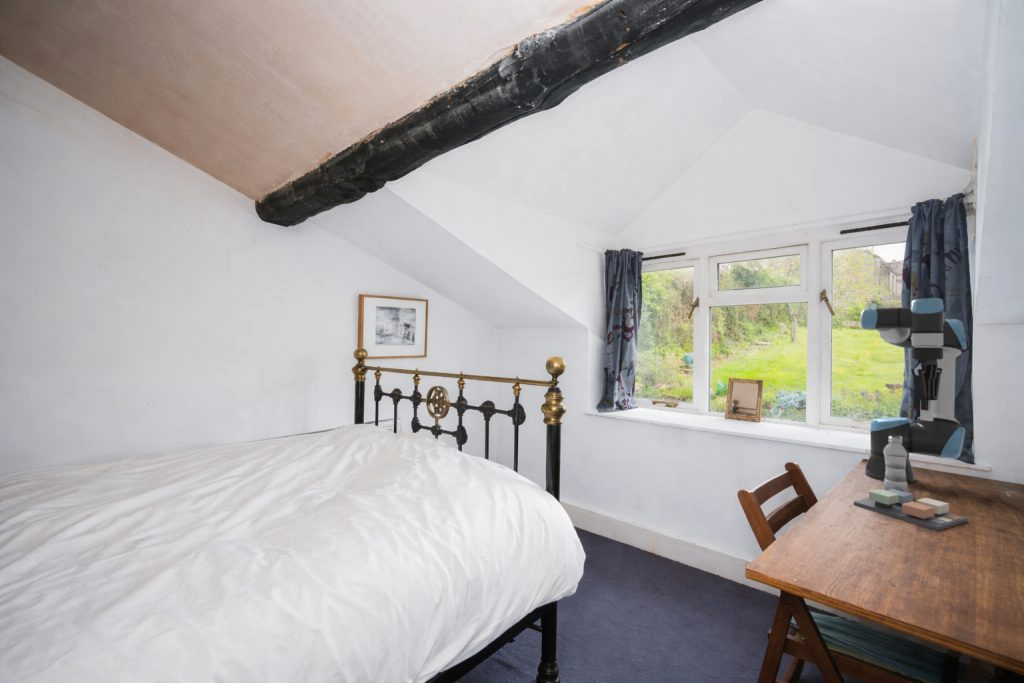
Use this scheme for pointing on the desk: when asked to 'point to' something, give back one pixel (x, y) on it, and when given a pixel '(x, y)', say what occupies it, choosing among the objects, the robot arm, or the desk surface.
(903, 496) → the key slate
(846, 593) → the desk surface
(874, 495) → the key sage
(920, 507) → the key terracotta
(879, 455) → the robot arm
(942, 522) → the keypad
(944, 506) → the key cream
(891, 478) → the plastic bottle
